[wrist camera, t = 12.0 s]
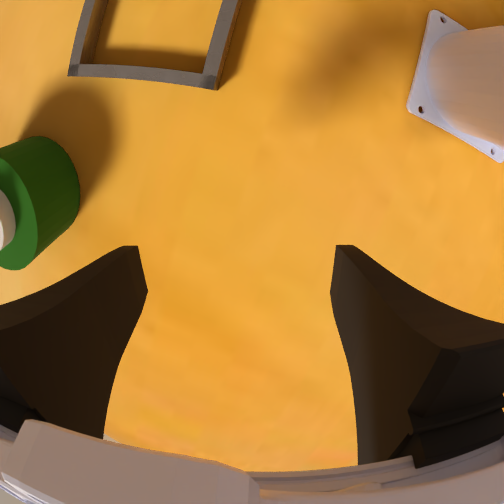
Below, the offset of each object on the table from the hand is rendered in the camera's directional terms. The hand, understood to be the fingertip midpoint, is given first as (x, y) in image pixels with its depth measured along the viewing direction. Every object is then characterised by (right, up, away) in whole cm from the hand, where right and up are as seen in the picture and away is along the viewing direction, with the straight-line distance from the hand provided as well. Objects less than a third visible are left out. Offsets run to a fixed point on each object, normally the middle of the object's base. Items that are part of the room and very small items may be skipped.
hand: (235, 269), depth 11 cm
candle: (-16, +6, +9) cm, 19 cm away
